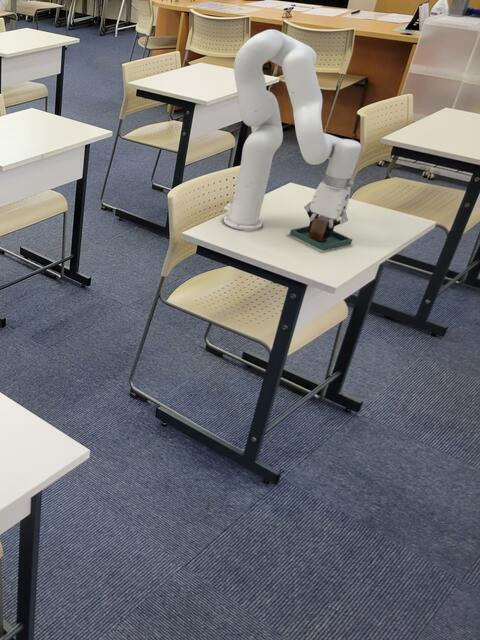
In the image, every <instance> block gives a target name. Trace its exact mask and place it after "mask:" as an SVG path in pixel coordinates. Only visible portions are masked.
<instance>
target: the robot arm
mask: <svg viewBox="0 0 480 640" xmlns="http://www.w3.org/2000/svg"><path fill="white" fill-rule="evenodd" d="M268 61H270V62H271V63H273V64H275V65H277V66H280V67H281V70H282V75H283V78H284V82H285V85H286V89H287V92H288V97H289V100H290V103H291V107H292V115H293V121H294V127H295V128H294V129H295V135H296V138H297V143H298V146H299V149H300V153H301V157H302V158H303V159H304V161H305V162H306V163H307V164H309V165H313V166H317V165H320V164H323V163H325V161H327V160H328V164H327V167H326V171H325V174H324V177H323V179H322V181H320V183H319V184H318V186H317V187H316V190H315V192H314V194H313V197H312V199H311V201H310V202H308V203H307V204H306V205H304V206H303V209H304V210H305V212H306V213H307V216H308V218H309V219H308V220H309V224H308V226H309V227H308V229H309V231H308V233H309V232H310V229H311V226H312V223H313V219H314V218H316V217H318V216H319V215H322V216H325V217H328V218H330V219H329V226H328V227H327V228H326V231H325V234H324V237H323V238H324V239H326V238H328V237H330V236H331V235H332V232H333V231H334V229H335V227H336V226H339V225H342V224H346V223H347V222H349V218H348V216H347V213H346V212H347V209H348V205H349V201H350V196H351V187H353V186H354V185H355V181H353V180H352V177H353V174H354V171H355V168H356V164H357V162H358V159H359V156H360V153H361V150H362V145H361V143H360V142H359V141H357V140H355V139H349V138H340V137H338V136H335V135H332V134H329V133H326V132H324V128H323V123H322V122H323V121H322V109H323V94H322V90H321V86H320V83H319V80H318V75H317V71H316V68H315V67H316V65H317V62H318V56H317V53H316V51H315V50H314V48H312V47H311V46H310V45H308V44H305V43H303V42H302V41H300V40H298V39H296V38H294V37H291V36H289V35H288V34H286V33H284V32H282V31H280V30H278V29H274V28H273V29H272V28H271V29H265V30H263V31H260V32H259V33H257V34H254V35H253V36H252V37H250V38H249V39H248V40H247V41H245V42H244V44H242V45H241V47H240V48H239V50H238V51H237V53H236V56H235V58H234V63H233V74H234V81H235V87H236V94H237V99H238V105H239V113H240V118H241V120H242V122H243V124H245V125H246V126H248V127H250V129H251V133H250V134H249V135H248V137H247V138H246V139H245V142H244V143H243V147H242V152H241V161H240V166H239V170H238V176H237V180H236V184H235V185H236V186H235V188H234V189H235V190H234V194H233V199H232V203H230V202H229V203H227V204H226V206H224V207H223V210H224V211H226V212H227V214H226V215H225V216H224V218H223V223H224V224H225V225H226V226H228V227H231V228H232V229H237V230H241V231H244V230H256V229H257V230H258V229H260V228H261V227H262V226H263V221H262V220H261V219H260V215H261V211H262V206H263V203H264V199H265V194H266V192H267V191H266V190H267V185H268V182H269V178H270V174H271V169H272V165H273V158H274V155H275V153H276V151H277V150H278V149H279V148H280V147H281V145H282V143H283V139H284V132H283V125H282V118H281V112H280V106H279V102H278V99H277V97H276V96H275V94H274V93H273V92H272V91H269V90H267V85H266V77H265V74H264V71H263V68H264V67H263V66H264V64H265V63H267V62H268ZM339 218H341V219H339Z"/></svg>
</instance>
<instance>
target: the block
mask: <svg viewBox="0 0 480 640" xmlns="http://www.w3.org/2000/svg"><path fill="white" fill-rule="evenodd" d="M329 219H330V218H327V217H324V216H321V215H320V216H318V217H316V218H314V219H313V223H312V226H311V229H310V232H309V235H308V237H310V238H313V239H315V240H318V241H323V240H325V239H324V238H323V237H324V234H325V231H326V228H327V227H328V226H329ZM326 239H327V238H326Z"/></svg>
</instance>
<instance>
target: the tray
mask: <svg viewBox="0 0 480 640" xmlns="http://www.w3.org/2000/svg"><path fill="white" fill-rule="evenodd" d="M308 227H309V225H306V226H301V227H297V228H292V229H290V231H289V235H290V236H292V237H294V238H296V239H298V240H300V241H302V242H304V243H306V244H308V245H310V246H312V247H314V248H316V249H318V250H321V251H323V252H324V251H327V250H332V249H335V248H340V247H345V246H348V245H351V244H352V243H353V239H352V238H351V237H348V236H346V235H344V234H342V233H340V232H338V231H335V230H333V232H332V235H331V236H330V237H328V238H327V239H325V240H323V241H318V240H315V239H313V238H310V237H308V235H309V233H308V231H309V229H308Z"/></svg>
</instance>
